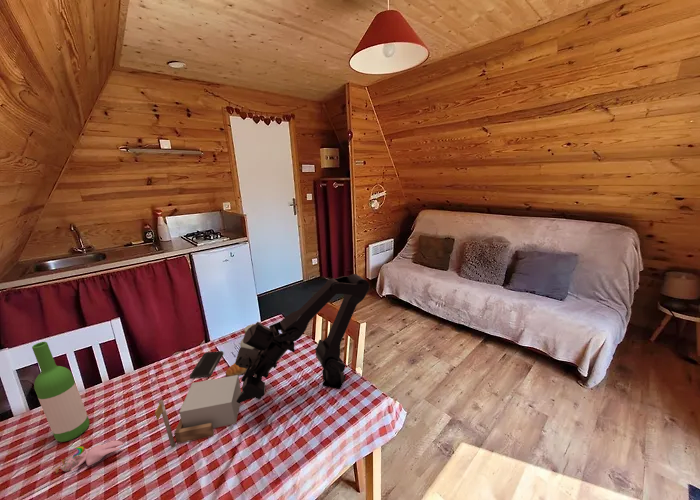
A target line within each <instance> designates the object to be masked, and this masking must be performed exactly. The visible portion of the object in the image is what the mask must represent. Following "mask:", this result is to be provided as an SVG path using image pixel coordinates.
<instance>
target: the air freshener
mask: <svg viewBox="0 0 700 500" xmlns="http://www.w3.org/2000/svg"><path fill="white" fill-rule="evenodd" d="M255 324H256V323H255ZM255 324H254V323H252V324H249V325H247V326H245V327H244V328H243V329H244V330H243V332H244V334H245V333H246V331H247V330H248V329H249V328H250V327H251V326H252V325H255ZM239 346H240V348H241V347H244V348H249V349H253V348H254V347H251V346H249V345H247V344H245V343H243V338H242V339H241V341H240V344H239Z"/></svg>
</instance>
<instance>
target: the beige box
mask: <svg viewBox="0 0 700 500" xmlns="http://www.w3.org/2000/svg"><path fill="white" fill-rule="evenodd" d="M241 392H242V387H241V383H240V378H239V375H235V376H229V377H228V376H225V377H219V378H214V379H213V378H211V379H207V380H201V381H197V382H196V381H195V382H192V383H191V385H190V386H189V389H188V392H187V394H186V396H185V399H184V400H183V403H182V406H181V407H180V410H179V416H180V419H181V420H182V424H183V428H188V427H193V426H198V425H203V424H208V423H212V426H213V429H216V428H221V427H226V426H232V425H236V424H237V422H238V421H237V419H238V415H239V410H240V406H241V403H238V402H237V399H238V397H239V396H240V394H241Z"/></svg>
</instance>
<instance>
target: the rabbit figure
mask: <svg viewBox="0 0 700 500" xmlns="http://www.w3.org/2000/svg"><path fill="white" fill-rule="evenodd" d="M122 445H124V442H122V440H116V439H115V440H112V441H109V442H107V443H105V444H99V445H95V446H93V447H91V448H90V449H89V450H88V449H87V448H85V447H84V446H83V445H82V446H77V447H76V448H75V450H76V451H75V452H74V453H73V454H72V455H71V456H69V457H67V456H65V458H64V459H60V461H61V462H62V465H59V466H58V467H54V469H55V474H56V475H57V474H58V472H59V471H60V470H62V471H63V472H72V471H75V470H76V469H77V468H78V467H79V466H81V465H82V464H85V463H86V465H87V466H92V465H93V464H96V463H98V462H99V461H101V460H102V459H103V458H104V457H105V456H107V455H108V454H110V453H112V452H116V451H119V450H121V447H119V446H122ZM83 452H85V453H84V454H83ZM81 454H83V455H81ZM59 473H60V472H59Z"/></svg>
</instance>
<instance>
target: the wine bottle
mask: <svg viewBox="0 0 700 500" xmlns="http://www.w3.org/2000/svg"><path fill="white" fill-rule="evenodd" d="M31 349H32V351H33V354H34V356H35V359H36V362H37V364H38V366H39V370H40V373H39V374H37V376H36V378H35V379H34V383H33V384H34V385H33V389H34V391H35V393H36V395H37V399H38V401H39V403H40V406H41V409H42V411H43V415H44V416H45V418H46V421H47V423H48V425H49V427H50V429H51V433H52V435H53V437H54V439H55V441H58V442H61V443H63V442H65V443H66V442H68V441H72V440H74V439H76V438H78V437H80V436H81V435H82V434H83V433H84V432H85V431H86V430H87V429H88V428H89V425H90V419H89V416H88V413H87V410H86V408H85V405H84V402H83V400H82V396H81V394H80V392H79V389H78V386H77V383H76V381H75V379H74V376H73V373H72V371H71V370H70V369H69V368H67V367H65V366H61V365H57V364H56V361H55V359H54V357H53V354H52V352H51V349H50V346H49V344H48V342H46V341H41V342H37V343H35V344H33V346H31Z"/></svg>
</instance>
